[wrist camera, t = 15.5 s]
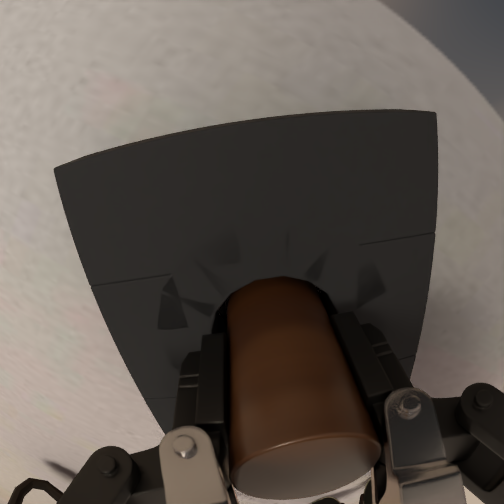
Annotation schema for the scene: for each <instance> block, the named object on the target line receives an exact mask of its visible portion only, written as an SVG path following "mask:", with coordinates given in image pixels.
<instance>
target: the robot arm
mask: <svg viewBox="0 0 504 504" xmlns="http://www.w3.org/2000/svg"><path fill="white" fill-rule="evenodd" d="M330 321H331V324H332V326H333V328H334V331H335V333H336V335H337V338H338V340H339V342H340V345H341V347H342V350H343V352H344V354H345V357H346V359H347V361H348V364H349V366H350V369H351V371H352V374H353V376H354V378H355V381H356V383H357V386H358V388H359V391H360V393H361V396H362V398H363V401H364V403H365V406H366V408H367V410H368V412H369V415H370V417H371V420H372V422H373V425H374V427H375V430H376V433H377V435H378V438H379V440H380V443H381V446H382V451H381V456H380V458H379V460H378V461H377V463H376V464H375V465H374V466H373V467H372V468H371V483H372V504H467V503H466V498H465V492H464V487H463V485H464V486H465V487H466V488H467V489H468V490H469V491H471V492H472V493H473V494H474V495H475V496H477V497H478V498H479V499H480V500H481V501H482V502H483V503H485V504H504V393H502V392H501V391H500V390H498V389H497V388H495V387H494V386H492V385H490V384H487V383H475V384H472V385H470V386H468V387H467V388H466V389H465V390H464V391H463V393H462V395H461V397H452V398H431V397H430V396H429V395H428V394H427V393H426V392H424V391H422V390H420V389H417V388H414V387H413V385H412V384H411V382H410V380H409V378H408V376H407V375H406V373H405V371H404V369H403V367H402V366H401V364H400V362H399V360H398V359H397V357H396V355H395V354H394V353H393V350H392V348H391V347H390V345H389V344H388V342H387V340H386V338H385V336H384V335H383V333H382V331H381V330H379V329H378V328H376V327H375V326H374V325H372V324H371V323H366V324H362V325H360V323H359V321H358V319H357V317H356V316H355V314H354V312H353V311H350V312H345V313H340V314H335V315H331V316H330ZM228 435H229V429H228V347H227V336H226V333H225V332H223V333H216V334H208V335H203V336H202V343H201V351H195V352H189V353H188V355H187V356H186V358H185V359H184V360H183V362H182V363H181V369H180V379H179V383H178V390H177V397H176V404H175V412H174V419H173V426H172V430H171V431H170V432H168V433H167V434H166V435H165V436H164V437H163V439H162V440H161V442H160V445H158V446H156V447H154V448H151V449H148V450H145V451H141V452H137V453H134V454H130V455H129V454H128V453H127V452H126V451H125V450H124V449H122V448H119V447H116V446H107V447H103V448H101V449H98V450H97V451H95V452H94V453H93V454H92V455H91V456H90V458H89V459H88V460H87V462H86V463H85V465H84V466H83V467H82V469H81V470H80V471H79V473H78V474H77V476H76V477H75V478H74V480H73V481H72V483H71V484H70V485H69V487H68V488H67V490H66V491H65V492H64V494H63V495H62V496H61V498H60V499H59V501H58V502H57V503H56V504H239V502H238V498H237V495H236V492H235V489H234V486H233V485H232V484H231V482H230V479H229V459H228Z"/></svg>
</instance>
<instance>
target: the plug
mask: <svg viewBox="0 0 504 504" xmlns="http://www.w3.org/2000/svg"><path fill="white" fill-rule="evenodd" d="M227 347H228V429H229V435H228V459H229V479H230V482H231V484H232V485H233V486H234V487H235V488H236V489H237V490H239V491H240V492H242V493H244V494H247V495H250V496H253V497H258V498H263V499H274V500H287V499H299V498H306V497H311V496H316V495H320V494H323V493H327V492H330V491H333V490H336V489H338V488H341V487H343V486H345V485H347V484H349V483H351V482H353V481H355V480H357V479H358V478H360V477H361V476H363V475H364V474H366V473H367V472H368V471H369V470H370V469H371V468H372V467H373V466H374V465H375V464H376V463H377V461H378V460H379V458H380V456H381V451H382V446H381V443H380V440H379V438H378V435H377V433H376V430H375V427H374V425H373V422H372V420H371V417H370V415H369V412H368V410H367V408H366V406H365V403H364V401H363V398H362V396H361V393H360V391H359V388H358V386H357V383H356V381H355V378H354V376H353V374H352V371H351V369H350V366H349V364H348V361H347V359H346V357H345V354H344V352H343V350H342V347H341V345H340V342H339V340H338V338H337V335H336V333H335V331H334V328H333V326H332V324H331V321H330V319H329V316H328V314H327V312H326V309H325V307H324V305H323V303H322V300H321V298H320V296H319V294H318V291H317V289H316V288H315V286H314V285H313V284H312V283H311V282H309V281H306V280H301V279H296V278H291V277H286V276H280V277H274V278H268V279H261V280H255V281H253V282H251V283H250V284H248V285H246V286H244V287H242V288H240V289H239V290H237V291H235V292H233V293H232V294H231V296H230V298H229V301H228V305H227Z"/></svg>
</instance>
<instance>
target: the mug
mask: <svg viewBox="0 0 504 504" xmlns="http://www.w3.org/2000/svg"><path fill="white" fill-rule="evenodd" d="M33 488H34V489H40V490H44V491H45V492H47V493H48V494H49V495H50V496H51V497H52V498H54V499H55V500H56V501H57V502H58V501H59V499H60V498H61V496H62V495H63V494H64V493H62V492H61V491H60V490H58V489H57V488H56V487H54V486H53V485H52V484H51V483H49V482H48V481H45V480H39V479H33V478H28V479H27V480H25V481H24V482H22V483H21V484H20V485H18V486H17V487H15V489H14V491H13V493H12V495H11V497H10V500H9V502H8V504H22V502H23V499H24V496H25V495H26V494H27V493H28V492H29V491H30V490H31V489H33Z"/></svg>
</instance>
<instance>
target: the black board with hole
mask: <svg viewBox="0 0 504 504" xmlns="http://www.w3.org/2000/svg"><path fill="white" fill-rule="evenodd" d="M54 174H55V178H56V182H57V186H58V189H59V193H60V197H61V201H62V204H63V208H64V211H65V214H66V218H67V221H68V224H69V227H70V231H71V234H72V237H73V240H74V243H75V246H76V249H77V252H78V254H79V257H80V260H81V263H82V266H83V268H84V271H85V274H86V276H87V279H88V282H89V284H90V286H91V289H92V292H93V294H94V296H95V299H96V301H97V304H98V306H99V308H100V311H101V313H102V315H103V318H104V320H105V322H106V324H107V327H108V329H109V331H110V333H111V335H112V338H113V340H114V342H115V344H116V346H117V348H118V350H119V352H120V354H121V356H122V358H123V360H124V362H125V364H126V366H127V368H128V370H129V372H130V374H131V376H132V378H133V380H134V382H135V383H136V385H137V387H138V389H139V391H140V393H141V394H142V396H143V398H144V400H145V402H146V403H147V405H148V407H149V409H150V410H151V412H152V414H153V415H154V417H155V419H156V420H157V422H158V424H159V425H160V427H161V429H162V430H163V432H164V433H165V435H166V434H167V433H168V432H170V431H171V430H172V426H173V419H174V412H175V404H176V397H177V390H178V383H179V379H180V369H181V363H182V362H183V360H184V359H185V358H186V356H187V355H188V353H189V352H195V351H201V343H202V336H203V335H208V334H216V333H223V332H225V333H226V336H227V322H226V321H225V320H224V319H223V317H222V316H221V315H220V314H219V312H218V309H219V308H220V307H221V305H222V304H223V303H224V302H225V300H226V299H227V298H228V297H229V296H230V294H231V293H233V292H235V291H237V290H239V289H240V288H242V287H244V286H246V285H248V284H250V283H251V282H253V281H255V280H261V279H268V278H274V277H280V276H286V277H291V278H296V279H301V280H306V281H309V282H311V283H312V284H314V285H315V286H317V287H318V288H320V289H321V300H322V303H323V305H324V307H325V309H326V312H327V314H328V316H329V319H330V316H331V315H335V314H340V313H345V312H350V311H353V312H354V314H355V316H356V317H357V319H358V321H359V323H360V325H362V324H366V323H371V324H372V325H374V326H375V327H376V328H378V329H379V330H381V331H382V333H383V335H384V336H385V338H386V340H387V342H388V344H389V345H390V347H391V348H392V350H393V353H394V354H395V355H396V357H397V359H398V360H399V362H400V364H401V366H402V367H403V369H404V371H405V373H406V375H407V376H408V378H409V380H410V376H411V373H412V369H413V365H414V361H415V357H416V352H417V348H418V344H419V339H420V334H421V330H422V325H423V319H424V314H425V309H426V303H427V297H428V291H429V284H430V277H431V270H432V261H433V253H434V243H435V231H436V217H437V198H438V135H437V116H436V113H435V112H430V111H417V110H402V109H382V110H349V111H331V112H317V113H305V114H294V115H284V116H276V117H267V118H259V119H252V120H245V121H238V122H232V123H225V124H219V125H214V126H208V127H202V128H197V129H192V130H187V131H182V132H177V133H172V134H168V135H163V136H159V137H154V138H150V139H146V140H142V141H138V142H134V143H130V144H126V145H122V146H118V147H115V148H111V149H108V150H104V151H101V152H97V153H94V154H90V155H87V156H84V157H81V158H79V159H76V160H73V161H71V162H68V163H66V164H63V165H61V166H58V167H56V168H54Z"/></svg>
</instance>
